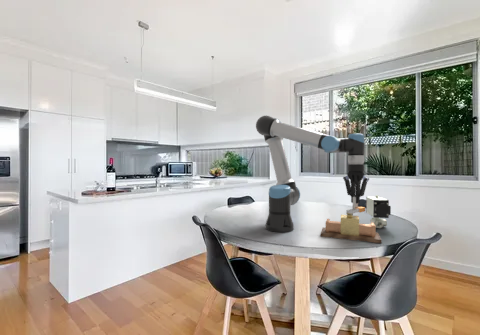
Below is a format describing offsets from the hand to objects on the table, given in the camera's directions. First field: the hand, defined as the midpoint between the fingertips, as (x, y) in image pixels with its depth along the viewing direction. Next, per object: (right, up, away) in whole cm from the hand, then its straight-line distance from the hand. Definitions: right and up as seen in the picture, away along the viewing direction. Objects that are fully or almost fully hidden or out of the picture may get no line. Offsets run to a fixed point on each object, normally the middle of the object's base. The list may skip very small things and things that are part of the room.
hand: (355, 209), depth 127 cm
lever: (-2, -1, -4) cm, 4 cm away
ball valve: (+18, -12, +11) cm, 24 cm away
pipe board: (-6, -12, -7) cm, 15 cm away
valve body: (-6, -11, -7) cm, 14 cm away
